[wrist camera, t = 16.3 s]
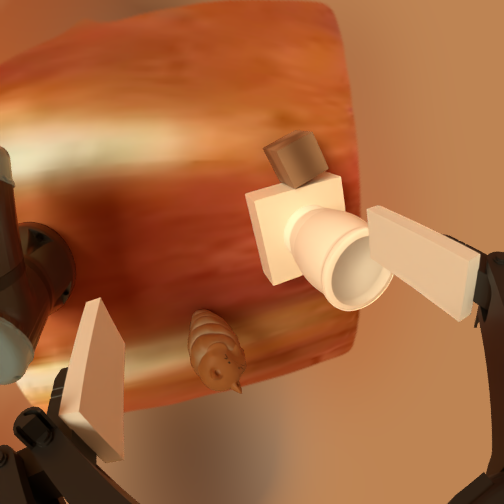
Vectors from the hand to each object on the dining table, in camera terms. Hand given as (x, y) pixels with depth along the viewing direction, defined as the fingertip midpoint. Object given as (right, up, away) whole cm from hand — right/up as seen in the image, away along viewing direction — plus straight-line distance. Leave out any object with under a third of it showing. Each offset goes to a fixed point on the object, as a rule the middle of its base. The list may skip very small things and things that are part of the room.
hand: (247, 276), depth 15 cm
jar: (+9, +4, +35) cm, 36 cm away
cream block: (+7, +6, +39) cm, 40 cm away
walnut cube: (+6, +16, +34) cm, 38 cm away
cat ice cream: (-8, -10, +41) cm, 43 cm away
